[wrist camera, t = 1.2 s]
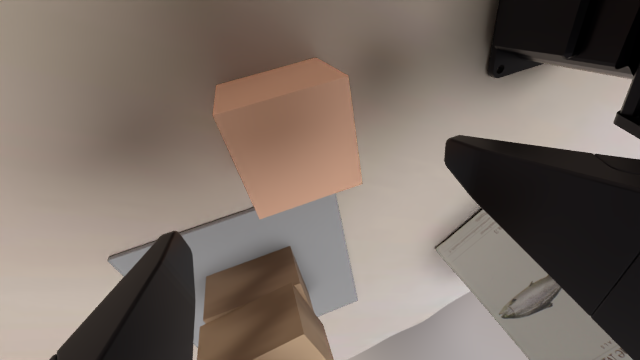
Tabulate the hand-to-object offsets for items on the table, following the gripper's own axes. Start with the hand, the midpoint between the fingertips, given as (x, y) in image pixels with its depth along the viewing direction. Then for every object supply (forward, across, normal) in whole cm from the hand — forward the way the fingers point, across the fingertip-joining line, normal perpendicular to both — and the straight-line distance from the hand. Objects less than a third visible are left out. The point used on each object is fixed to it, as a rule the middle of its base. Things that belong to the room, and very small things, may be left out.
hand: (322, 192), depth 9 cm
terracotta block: (+7, 0, 0) cm, 7 cm away
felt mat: (+7, +5, +12) cm, 15 cm away
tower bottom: (+7, +5, +12) cm, 15 cm away
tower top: (+4, +5, +12) cm, 14 cm away
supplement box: (+8, -15, +17) cm, 24 cm away
